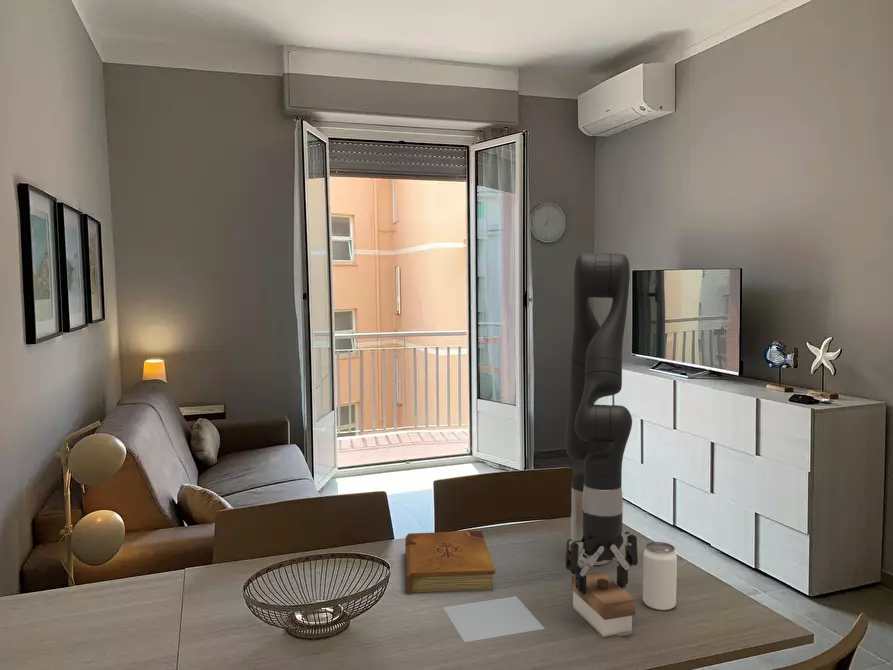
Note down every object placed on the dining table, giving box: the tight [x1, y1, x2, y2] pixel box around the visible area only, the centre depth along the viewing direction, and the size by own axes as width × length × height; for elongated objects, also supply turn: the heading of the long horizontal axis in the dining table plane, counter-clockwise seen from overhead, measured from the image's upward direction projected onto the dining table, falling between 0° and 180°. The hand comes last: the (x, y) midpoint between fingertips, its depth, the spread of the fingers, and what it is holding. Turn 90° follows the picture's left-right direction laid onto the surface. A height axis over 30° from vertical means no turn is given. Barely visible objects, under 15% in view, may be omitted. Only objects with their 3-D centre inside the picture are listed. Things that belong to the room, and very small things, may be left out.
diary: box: [404, 530, 496, 596], centre depth 155 cm, size 23×19×6 cm
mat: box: [442, 595, 546, 643], centre depth 133 cm, size 14×16×1 cm
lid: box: [571, 570, 637, 620], centre depth 131 cm, size 13×6×4 cm, turn 17°
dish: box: [572, 590, 633, 638], centre depth 132 cm, size 12×6×4 cm, turn 17°
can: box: [642, 541, 678, 611], centre depth 139 cm, size 6×6×12 cm
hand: (601, 589), depth 131 cm, fingers open, 8 cm apart
